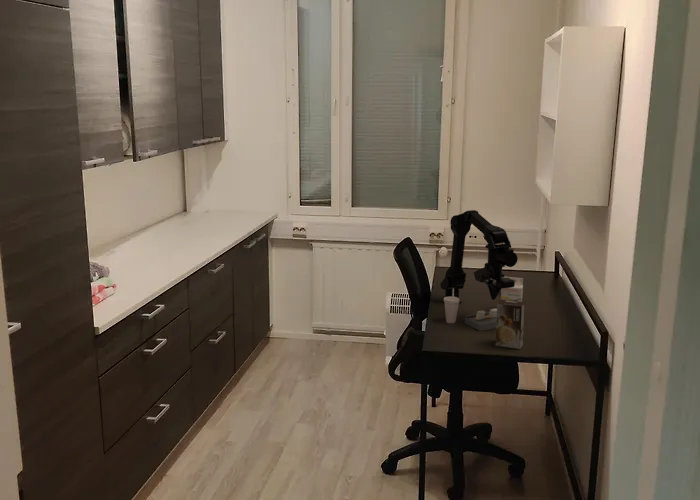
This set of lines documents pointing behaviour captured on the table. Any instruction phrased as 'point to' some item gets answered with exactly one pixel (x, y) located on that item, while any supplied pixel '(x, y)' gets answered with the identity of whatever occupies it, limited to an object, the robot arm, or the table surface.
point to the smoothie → (451, 308)
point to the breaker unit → (481, 322)
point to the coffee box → (510, 323)
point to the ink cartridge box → (513, 290)
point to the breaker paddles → (481, 314)
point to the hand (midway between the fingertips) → (493, 299)
